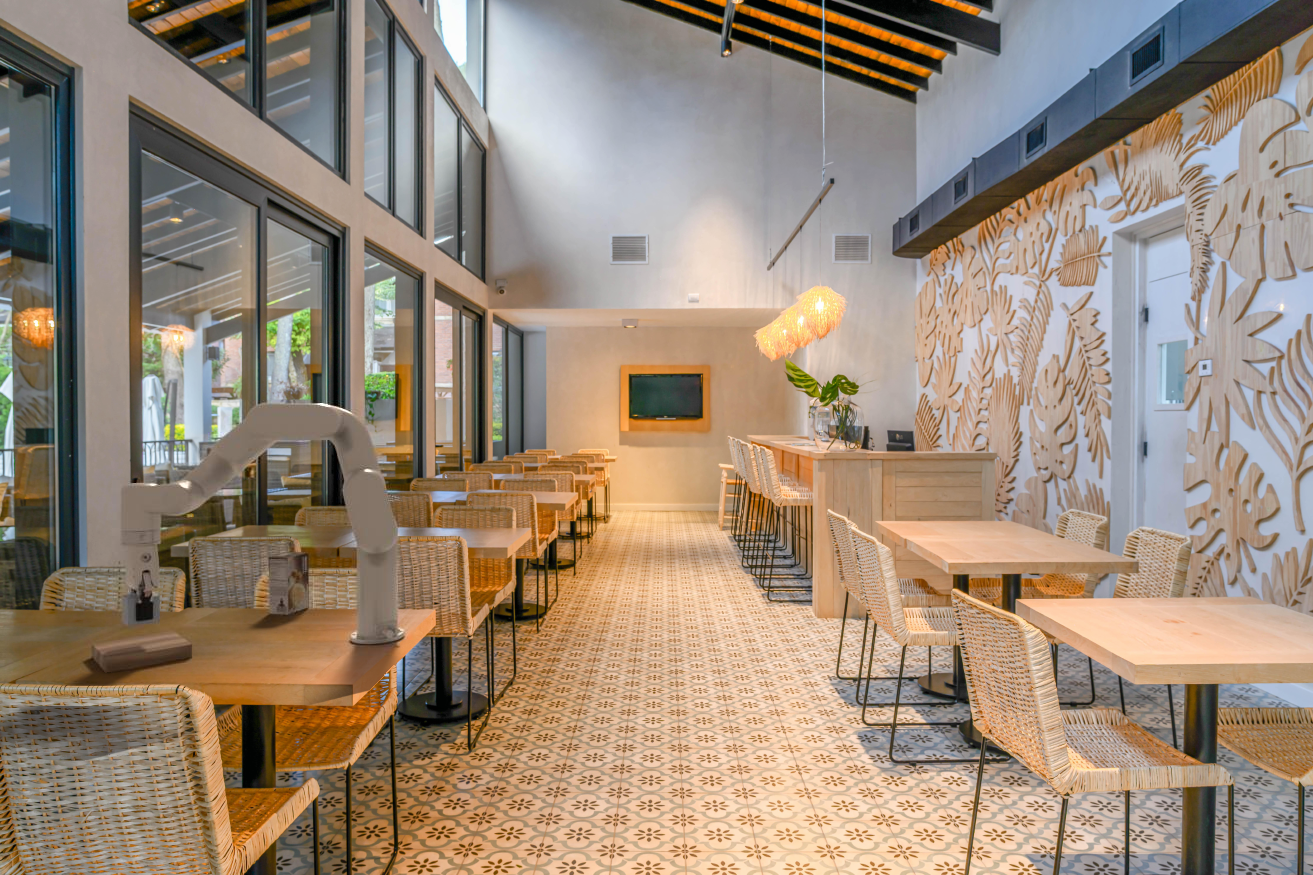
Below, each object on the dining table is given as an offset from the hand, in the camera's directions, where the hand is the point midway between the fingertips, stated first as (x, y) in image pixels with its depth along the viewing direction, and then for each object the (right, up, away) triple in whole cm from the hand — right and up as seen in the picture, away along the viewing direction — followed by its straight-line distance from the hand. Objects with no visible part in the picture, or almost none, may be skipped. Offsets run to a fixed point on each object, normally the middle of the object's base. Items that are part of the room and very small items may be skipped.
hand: (140, 616), depth 174 cm
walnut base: (0, -9, 0) cm, 9 cm away
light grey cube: (0, -1, 0) cm, 1 cm away
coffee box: (+12, -9, +45) cm, 47 cm away
